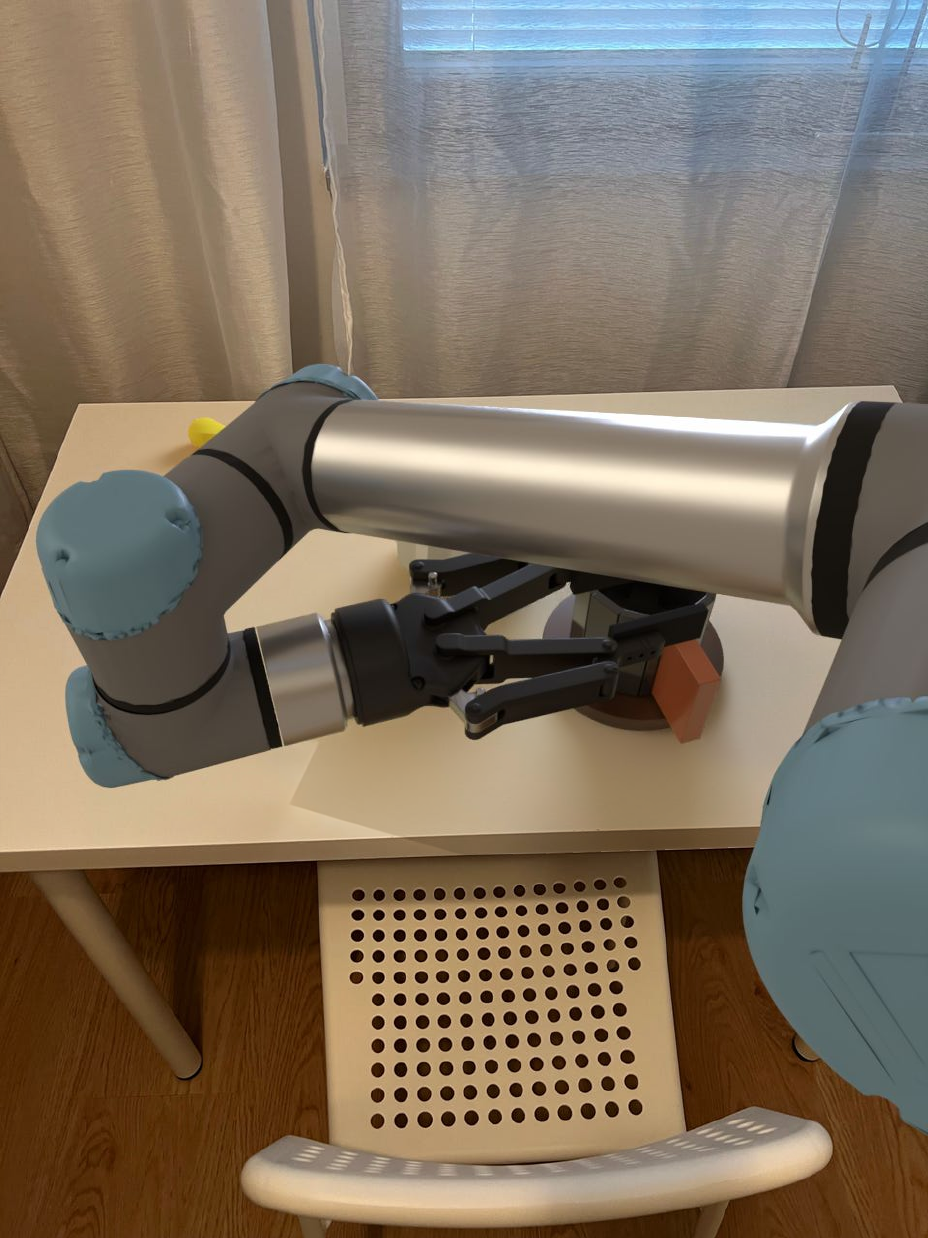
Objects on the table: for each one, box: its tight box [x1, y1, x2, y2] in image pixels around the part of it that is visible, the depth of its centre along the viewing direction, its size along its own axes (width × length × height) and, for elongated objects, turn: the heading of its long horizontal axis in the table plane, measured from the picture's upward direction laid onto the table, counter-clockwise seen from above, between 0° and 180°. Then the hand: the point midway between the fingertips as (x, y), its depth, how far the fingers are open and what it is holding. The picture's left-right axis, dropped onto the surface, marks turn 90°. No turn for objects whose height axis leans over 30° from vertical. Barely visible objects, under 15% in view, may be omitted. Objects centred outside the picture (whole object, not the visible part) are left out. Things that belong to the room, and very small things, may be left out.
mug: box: [570, 580, 722, 745], centre depth 78 cm, size 12×15×10 cm
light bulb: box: [187, 416, 227, 449], centre depth 103 cm, size 3×6×4 cm, turn 106°
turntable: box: [541, 593, 725, 731], centre depth 84 cm, size 16×16×2 cm
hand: (680, 588), depth 63 cm, fingers open, 5 cm apart
